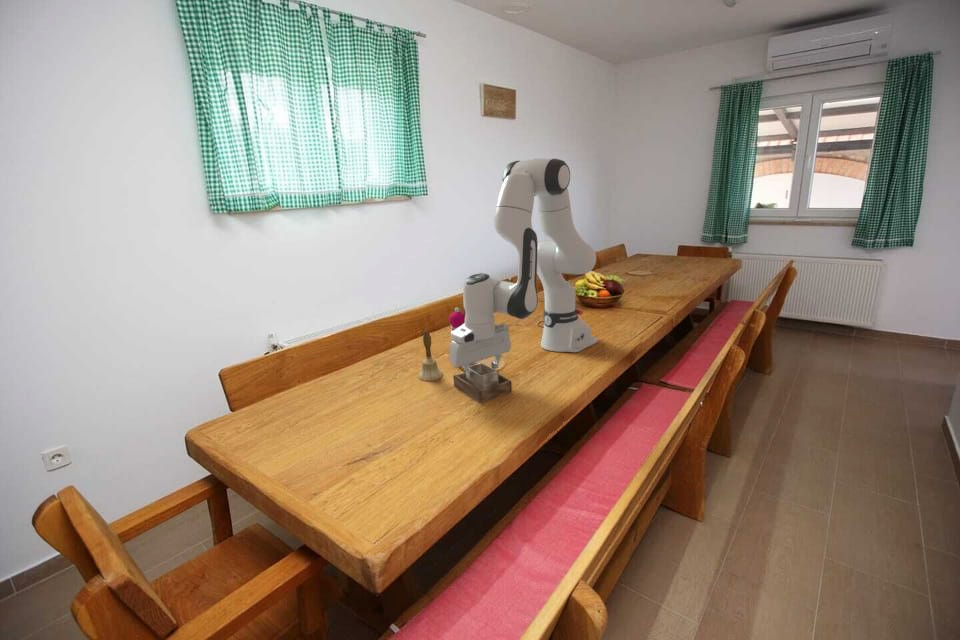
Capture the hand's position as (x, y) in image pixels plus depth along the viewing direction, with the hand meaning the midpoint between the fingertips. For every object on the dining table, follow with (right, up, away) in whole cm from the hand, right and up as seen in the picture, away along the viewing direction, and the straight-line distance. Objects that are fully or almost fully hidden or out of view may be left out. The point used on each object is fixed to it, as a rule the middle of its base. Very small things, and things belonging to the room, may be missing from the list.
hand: (482, 372), depth 142 cm
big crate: (0, -5, +1) cm, 5 cm away
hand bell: (-17, -3, +12) cm, 21 cm away
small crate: (0, -5, +1) cm, 5 cm away
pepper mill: (-8, +1, +23) cm, 24 cm away
